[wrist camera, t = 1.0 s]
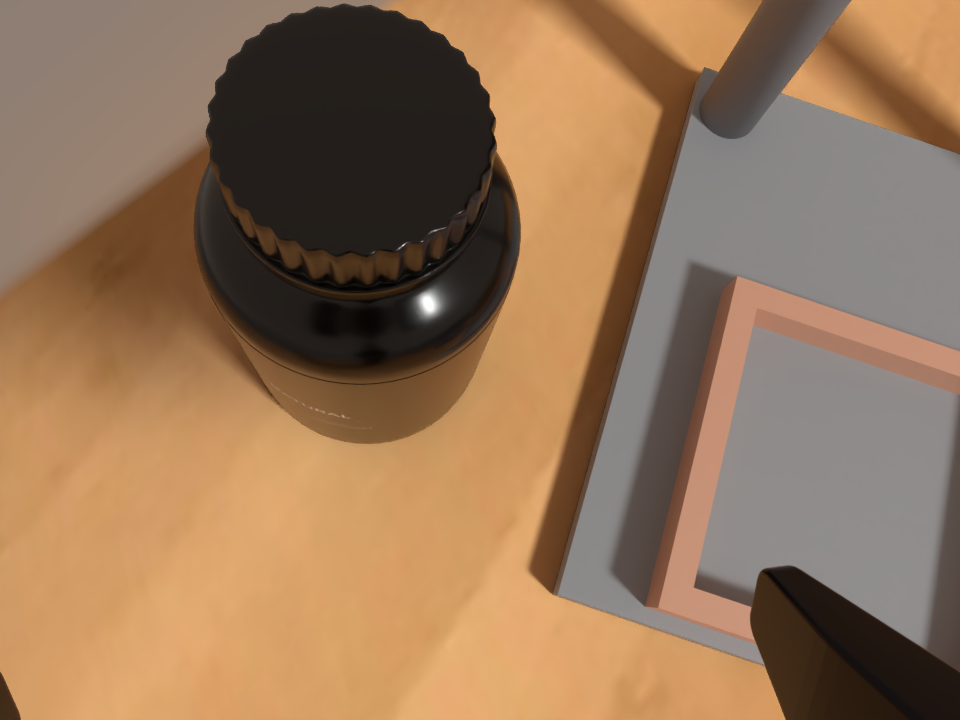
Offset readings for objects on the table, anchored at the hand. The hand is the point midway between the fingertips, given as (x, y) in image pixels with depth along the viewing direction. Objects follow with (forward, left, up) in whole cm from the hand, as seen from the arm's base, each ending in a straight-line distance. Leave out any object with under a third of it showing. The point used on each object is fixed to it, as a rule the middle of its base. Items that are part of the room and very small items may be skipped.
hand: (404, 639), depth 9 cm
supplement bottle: (+7, +4, -14) cm, 16 cm away
